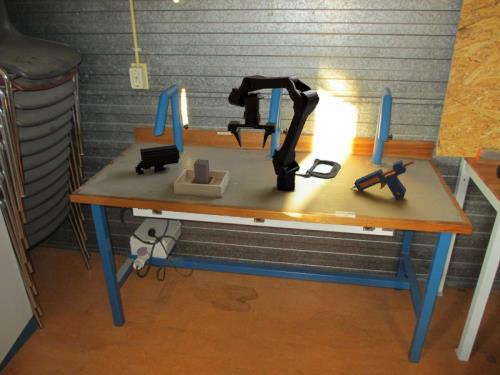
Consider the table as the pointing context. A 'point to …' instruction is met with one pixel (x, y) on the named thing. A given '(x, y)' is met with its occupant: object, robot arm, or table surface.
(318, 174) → the c clamp
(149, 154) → the security camera
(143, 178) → the table surface
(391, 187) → the glue gun
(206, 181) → the plug
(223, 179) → the box
